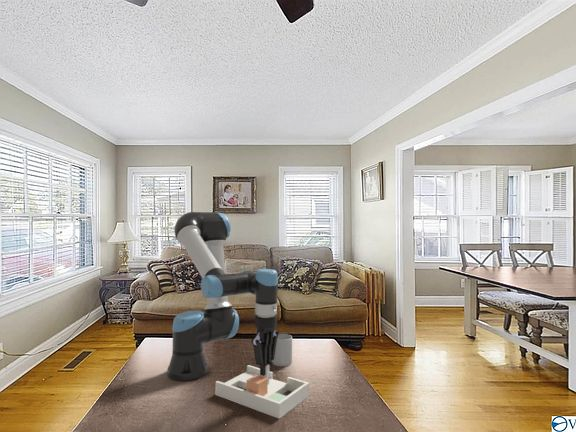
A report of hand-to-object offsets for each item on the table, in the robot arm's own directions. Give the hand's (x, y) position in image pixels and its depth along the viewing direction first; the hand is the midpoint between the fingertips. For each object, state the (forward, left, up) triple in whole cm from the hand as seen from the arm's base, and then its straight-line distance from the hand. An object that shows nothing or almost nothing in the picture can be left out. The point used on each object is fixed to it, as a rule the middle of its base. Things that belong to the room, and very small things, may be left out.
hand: (264, 383), depth 126 cm
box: (-1, 0, -5) cm, 5 cm away
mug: (-13, +30, -5) cm, 33 cm away
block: (0, -4, -2) cm, 5 cm away
